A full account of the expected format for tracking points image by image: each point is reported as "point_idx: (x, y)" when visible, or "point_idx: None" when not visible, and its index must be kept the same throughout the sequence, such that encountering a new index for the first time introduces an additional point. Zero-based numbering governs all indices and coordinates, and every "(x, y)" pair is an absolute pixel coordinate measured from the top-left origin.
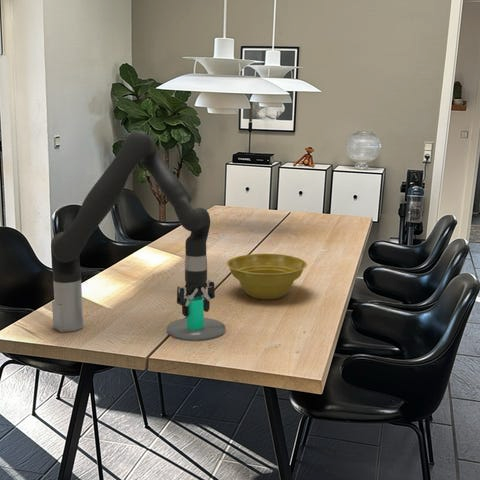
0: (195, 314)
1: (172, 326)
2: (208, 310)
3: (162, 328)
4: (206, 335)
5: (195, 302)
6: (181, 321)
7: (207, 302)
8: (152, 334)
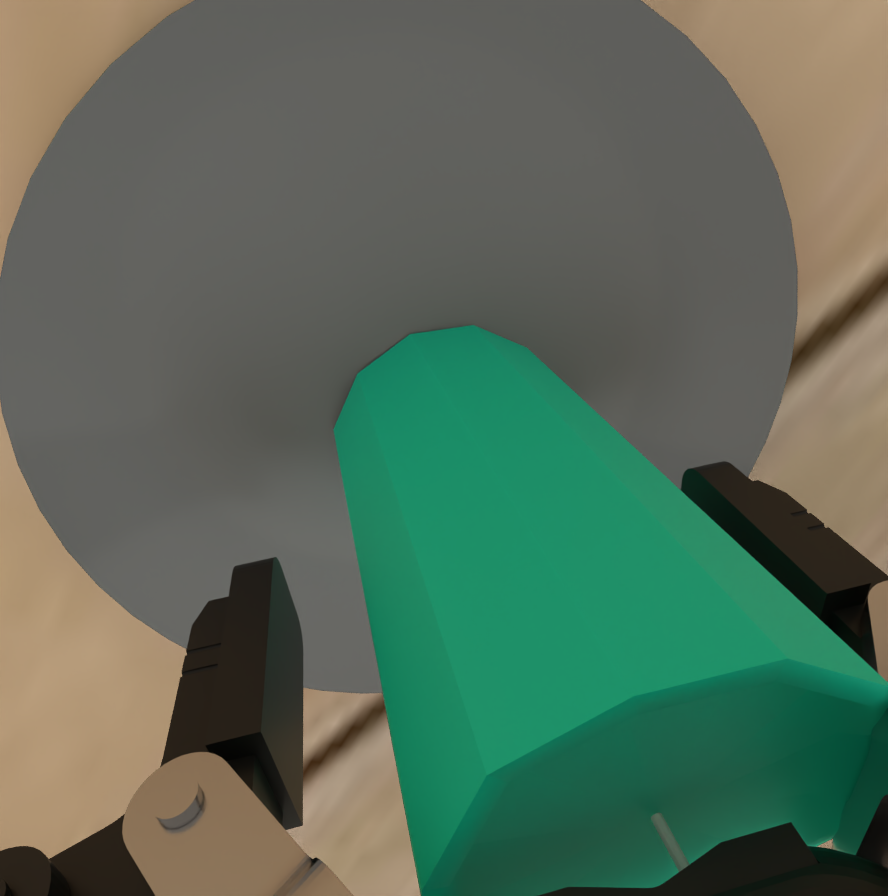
0: (602, 439)
1: None
2: (237, 571)
3: None
4: (492, 12)
5: (782, 619)
6: None
7: (249, 717)
8: (839, 479)
